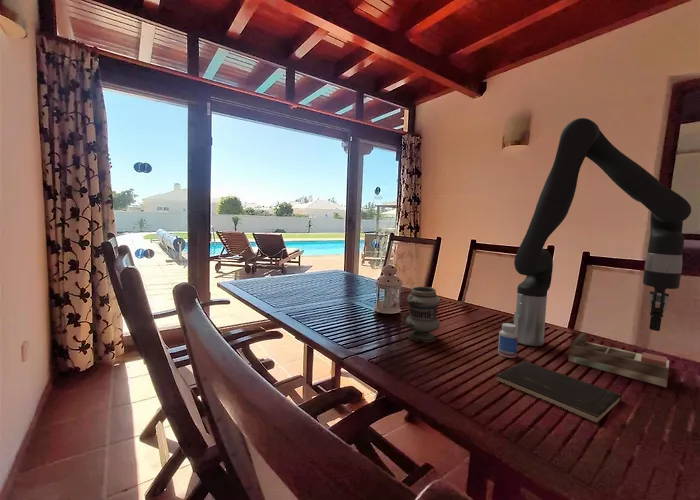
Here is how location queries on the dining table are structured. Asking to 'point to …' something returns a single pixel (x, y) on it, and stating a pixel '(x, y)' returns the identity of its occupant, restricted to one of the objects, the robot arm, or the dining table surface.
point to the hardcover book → (561, 390)
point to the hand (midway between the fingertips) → (654, 329)
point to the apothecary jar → (422, 313)
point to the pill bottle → (508, 341)
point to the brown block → (654, 359)
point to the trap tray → (616, 361)
